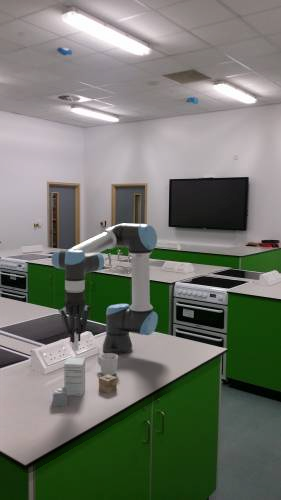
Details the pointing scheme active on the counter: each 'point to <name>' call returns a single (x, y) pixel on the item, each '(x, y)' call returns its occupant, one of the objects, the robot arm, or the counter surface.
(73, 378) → the miniature drawer cabinet
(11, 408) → the counter surface
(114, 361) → the cup
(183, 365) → the counter surface
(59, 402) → the slate block
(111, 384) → the beige speckled cube
